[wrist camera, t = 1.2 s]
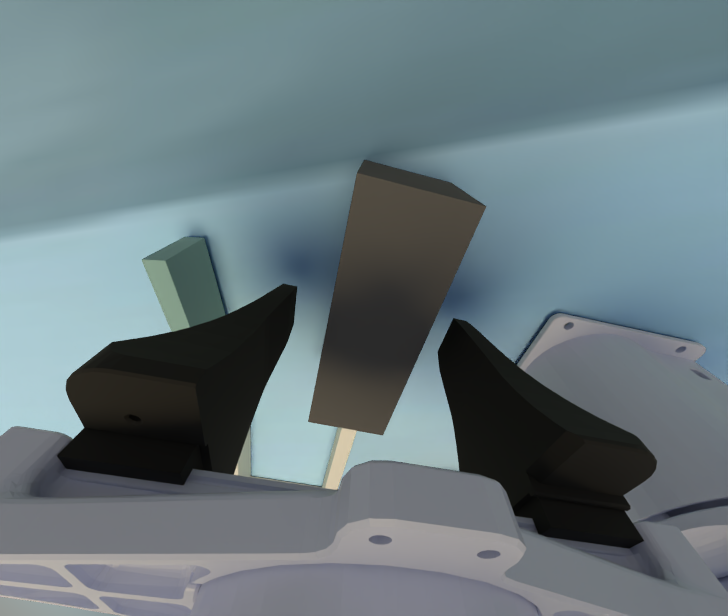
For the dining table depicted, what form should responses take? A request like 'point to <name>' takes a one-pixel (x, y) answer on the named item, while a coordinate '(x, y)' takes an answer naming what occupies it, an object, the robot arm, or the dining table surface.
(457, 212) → the dark brown rectangular block
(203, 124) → the dining table surface
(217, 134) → the dining table surface
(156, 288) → the sage green post
